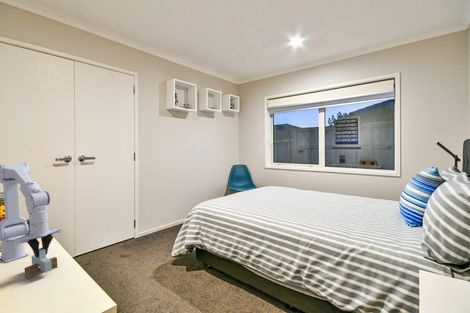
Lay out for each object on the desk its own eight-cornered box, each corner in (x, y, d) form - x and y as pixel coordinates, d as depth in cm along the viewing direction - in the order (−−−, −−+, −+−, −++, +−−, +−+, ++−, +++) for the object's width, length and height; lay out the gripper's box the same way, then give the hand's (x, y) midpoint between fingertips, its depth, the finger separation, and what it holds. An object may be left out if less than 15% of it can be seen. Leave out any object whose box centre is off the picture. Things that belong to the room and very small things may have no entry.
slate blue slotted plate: (32, 265, 96) (31, 247, 95) (38, 263, 97) (37, 245, 97) (45, 272, 90) (44, 253, 89) (51, 270, 91) (50, 251, 91)
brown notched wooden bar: (25, 277, 90) (24, 267, 90) (55, 266, 98) (54, 256, 98) (27, 279, 89) (26, 269, 89) (57, 267, 97) (57, 257, 97)
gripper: (19, 229, 84) (21, 265, 85) (64, 218, 97) (66, 250, 98) (12, 226, 88) (14, 261, 89) (56, 216, 101) (58, 246, 101)
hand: (41, 255), depth 93 cm, fingers closed on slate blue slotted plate, 2 cm apart
